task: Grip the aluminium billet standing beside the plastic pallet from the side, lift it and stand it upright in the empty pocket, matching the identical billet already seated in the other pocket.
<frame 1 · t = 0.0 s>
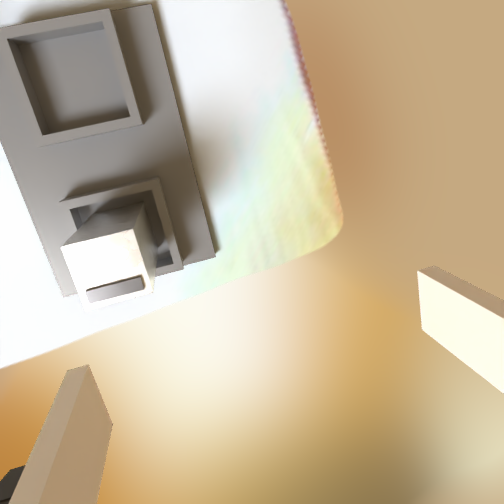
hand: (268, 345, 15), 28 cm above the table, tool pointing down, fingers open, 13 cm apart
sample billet: (126, 231, 40), resting on pallet
pallet: (105, 161, 38), on the table
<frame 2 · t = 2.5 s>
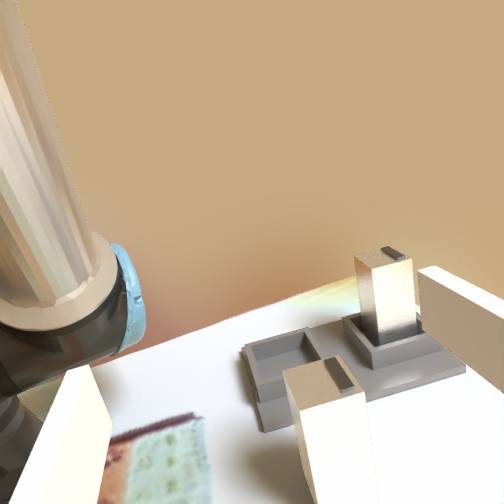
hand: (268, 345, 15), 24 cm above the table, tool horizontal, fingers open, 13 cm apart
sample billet: (389, 340, 52), resting on pallet
pallet: (340, 361, 52), on the table
billet: (339, 490, 35), on the table
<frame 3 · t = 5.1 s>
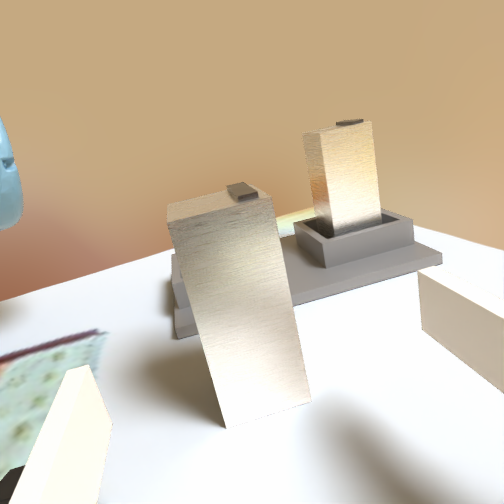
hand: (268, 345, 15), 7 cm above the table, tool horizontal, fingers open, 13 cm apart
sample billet: (350, 243, 42), resting on pallet
pallet: (289, 269, 41), on the table
billet: (260, 387, 25), on the table
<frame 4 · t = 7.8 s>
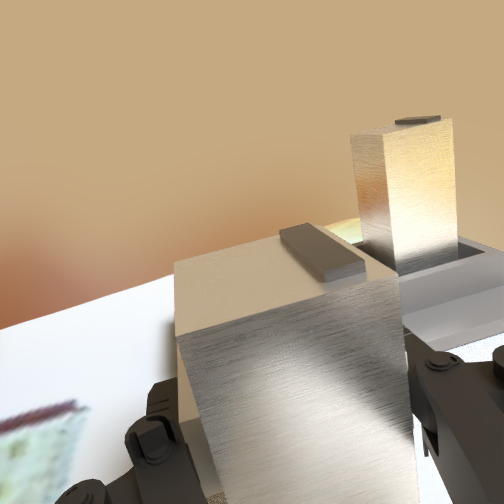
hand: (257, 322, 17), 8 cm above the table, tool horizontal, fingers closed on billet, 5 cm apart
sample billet: (410, 279, 32), resting on pallet
pallet: (331, 314, 31), on the table
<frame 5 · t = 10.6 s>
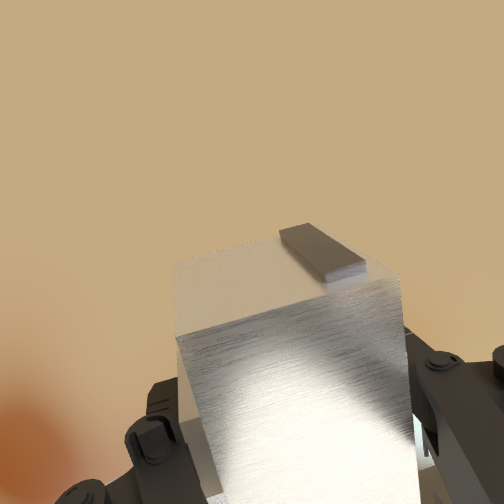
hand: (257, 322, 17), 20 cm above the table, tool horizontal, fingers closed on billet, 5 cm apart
when the fingers open (9 cm above the table, at t = 13.7 s): billet stays where it is, resting on pallet.
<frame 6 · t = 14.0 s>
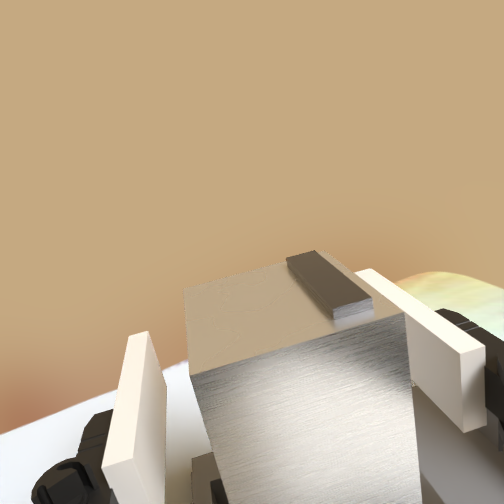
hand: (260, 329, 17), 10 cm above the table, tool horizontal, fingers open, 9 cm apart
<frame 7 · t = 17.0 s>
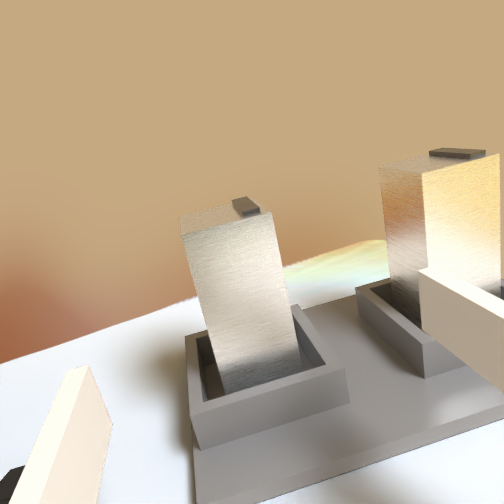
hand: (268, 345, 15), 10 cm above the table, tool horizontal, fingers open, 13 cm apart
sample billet: (444, 324, 29), resting on pallet
pallet: (356, 363, 28), on the table
billet: (261, 380, 27), point 1 cm above the table, touching pallet
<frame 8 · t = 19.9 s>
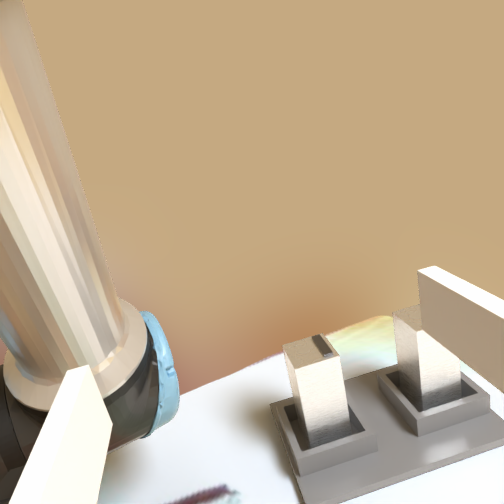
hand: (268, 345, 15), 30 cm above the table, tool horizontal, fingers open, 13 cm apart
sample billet: (430, 399, 49), resting on pallet
pallet: (379, 423, 49), on the table
billet: (325, 434, 48), point 1 cm above the table, touching pallet
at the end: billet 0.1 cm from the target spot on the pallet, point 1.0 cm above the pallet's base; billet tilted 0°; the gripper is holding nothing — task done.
